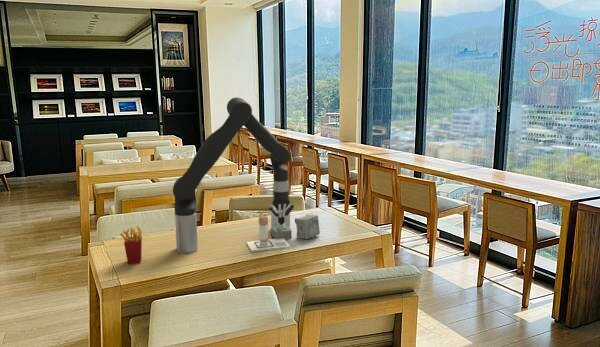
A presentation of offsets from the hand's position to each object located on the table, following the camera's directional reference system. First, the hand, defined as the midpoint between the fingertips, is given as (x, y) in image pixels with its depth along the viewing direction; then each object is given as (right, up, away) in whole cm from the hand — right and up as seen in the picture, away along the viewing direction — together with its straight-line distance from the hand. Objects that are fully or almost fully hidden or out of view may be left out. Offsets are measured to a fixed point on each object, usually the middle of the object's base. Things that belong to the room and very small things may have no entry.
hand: (281, 224), depth 228 cm
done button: (0, -6, +1) cm, 6 cm away
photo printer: (-1, -4, +14) cm, 14 cm away
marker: (-8, -8, -11) cm, 16 cm away
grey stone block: (+13, -7, +1) cm, 14 cm away
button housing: (0, -6, +1) cm, 6 cm away
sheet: (-6, -9, -11) cm, 15 cm away
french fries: (-62, -13, -28) cm, 69 cm away
